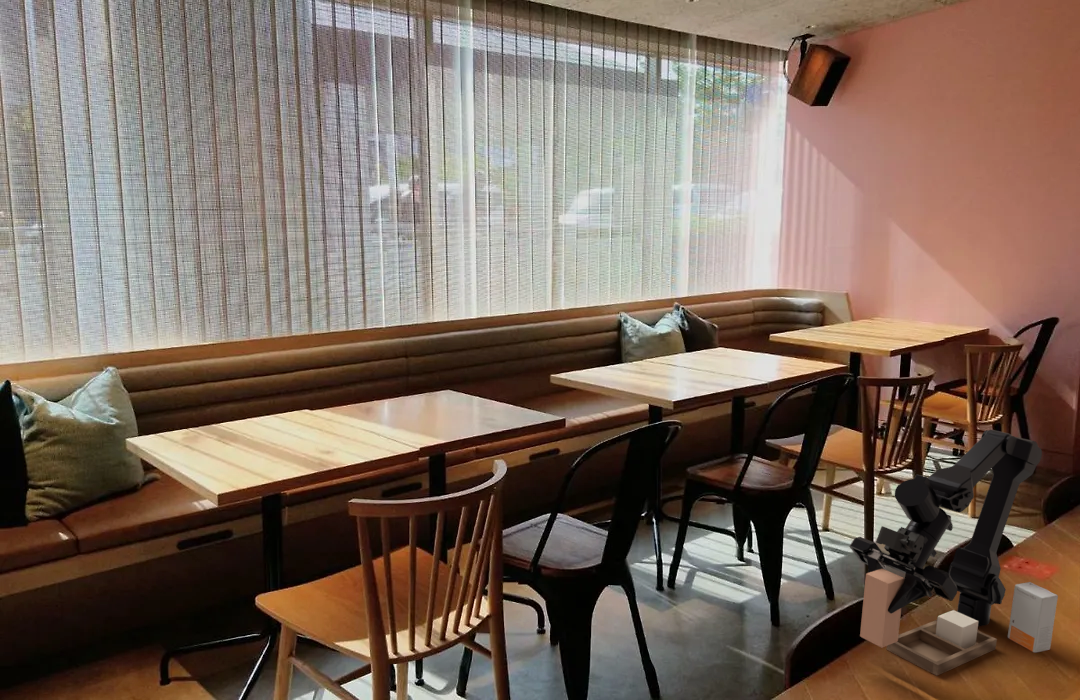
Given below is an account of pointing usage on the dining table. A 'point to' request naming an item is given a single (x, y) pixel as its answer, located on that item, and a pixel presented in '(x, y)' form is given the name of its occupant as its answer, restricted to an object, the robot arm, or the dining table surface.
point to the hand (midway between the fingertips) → (877, 606)
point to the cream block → (957, 629)
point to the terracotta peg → (880, 608)
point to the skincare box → (1032, 617)
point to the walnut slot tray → (938, 649)
